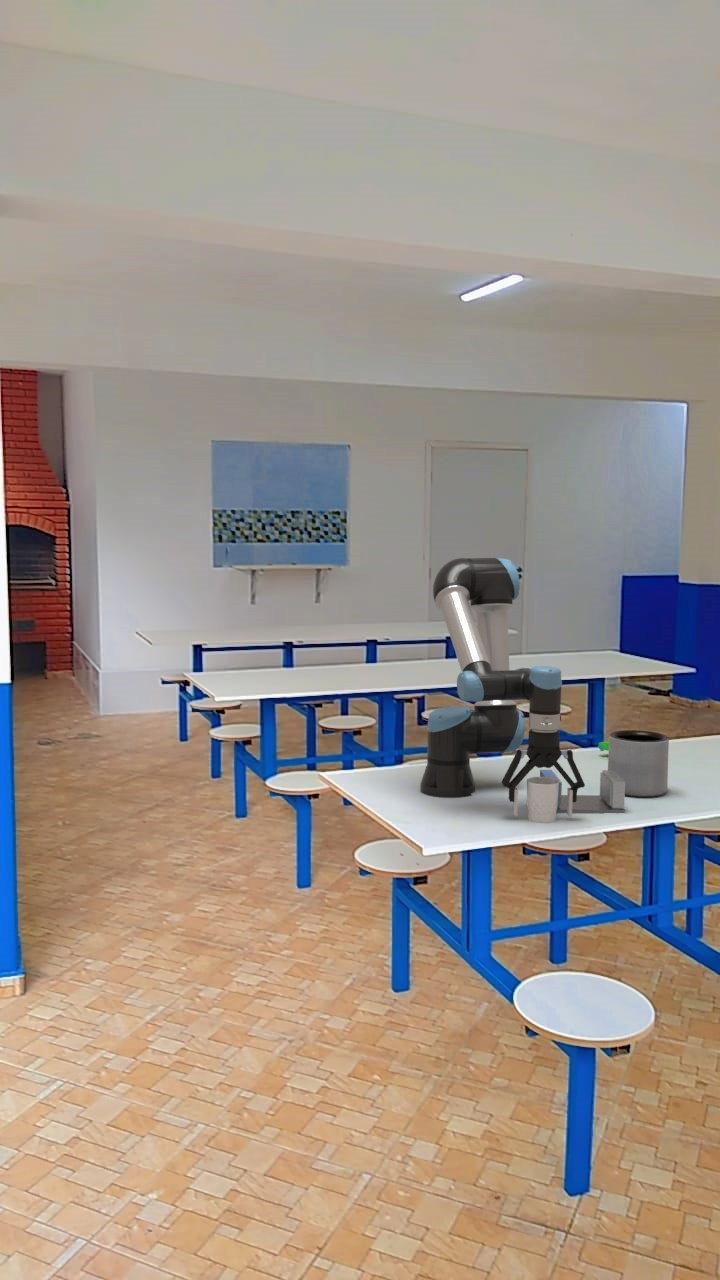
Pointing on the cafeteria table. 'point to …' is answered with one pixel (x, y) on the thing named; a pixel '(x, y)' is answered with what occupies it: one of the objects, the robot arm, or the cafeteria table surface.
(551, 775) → the sliding jaw
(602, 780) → the fixed jaw
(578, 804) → the vise bed
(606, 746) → the toy car
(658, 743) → the planter
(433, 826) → the cafeteria table surface
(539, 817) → the white cup
